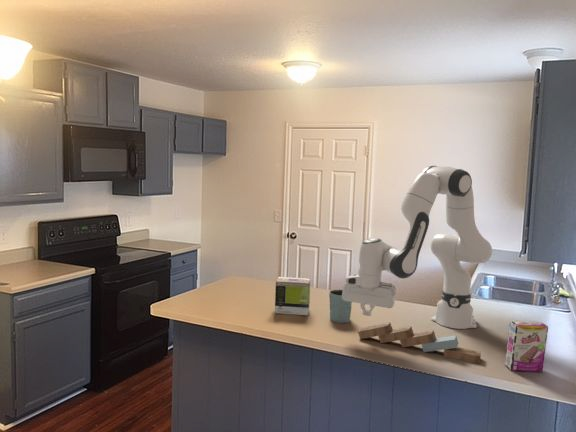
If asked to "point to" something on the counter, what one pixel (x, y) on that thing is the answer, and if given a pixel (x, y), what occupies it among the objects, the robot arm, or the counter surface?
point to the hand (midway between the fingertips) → (366, 315)
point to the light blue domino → (441, 344)
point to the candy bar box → (526, 346)
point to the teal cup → (339, 307)
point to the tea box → (292, 295)
